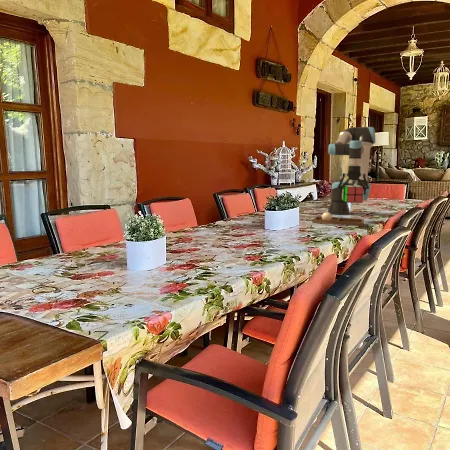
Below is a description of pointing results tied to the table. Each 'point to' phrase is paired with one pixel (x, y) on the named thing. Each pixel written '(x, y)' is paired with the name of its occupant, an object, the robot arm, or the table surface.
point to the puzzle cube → (353, 194)
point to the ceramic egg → (326, 216)
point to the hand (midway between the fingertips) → (352, 199)
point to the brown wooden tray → (340, 221)
